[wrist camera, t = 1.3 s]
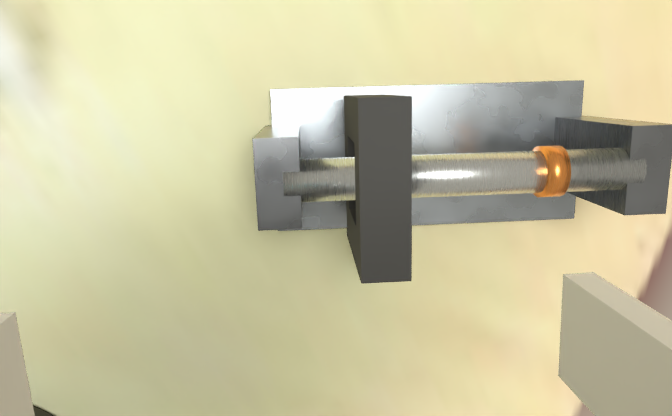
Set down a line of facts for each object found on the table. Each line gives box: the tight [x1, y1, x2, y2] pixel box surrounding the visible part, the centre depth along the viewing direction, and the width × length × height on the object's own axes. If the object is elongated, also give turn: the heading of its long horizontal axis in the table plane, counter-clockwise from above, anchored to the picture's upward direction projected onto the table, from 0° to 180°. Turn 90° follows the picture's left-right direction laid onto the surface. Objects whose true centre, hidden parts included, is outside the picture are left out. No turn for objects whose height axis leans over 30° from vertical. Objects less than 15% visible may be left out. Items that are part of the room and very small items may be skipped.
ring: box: [344, 94, 412, 283], centre depth 30 cm, size 2×9×9 cm, turn 2°
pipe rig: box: [253, 80, 672, 231], centre depth 34 cm, size 23×10×10 cm, turn 92°
